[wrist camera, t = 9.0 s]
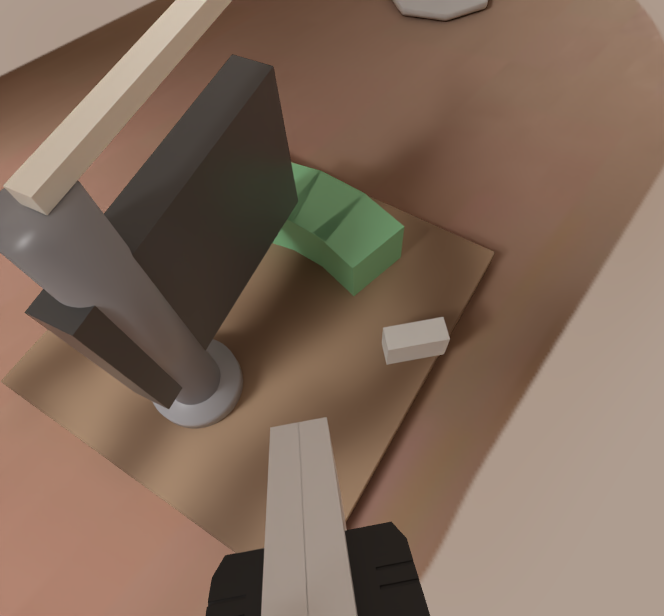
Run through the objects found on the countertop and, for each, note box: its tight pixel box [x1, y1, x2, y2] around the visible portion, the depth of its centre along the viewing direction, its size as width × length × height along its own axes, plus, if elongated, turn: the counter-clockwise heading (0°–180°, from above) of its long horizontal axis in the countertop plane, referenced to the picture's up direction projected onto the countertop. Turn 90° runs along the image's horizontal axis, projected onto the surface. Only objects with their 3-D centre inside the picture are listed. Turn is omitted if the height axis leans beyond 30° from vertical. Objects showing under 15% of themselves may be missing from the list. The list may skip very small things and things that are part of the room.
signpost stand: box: [0, 0, 298, 429], centre depth 21 cm, size 14×4×15 cm, turn 154°
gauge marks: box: [273, 163, 450, 365], centre depth 27 cm, size 14×5×3 cm, turn 40°
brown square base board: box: [1, 161, 495, 553], centre depth 28 cm, size 19×20×1 cm
